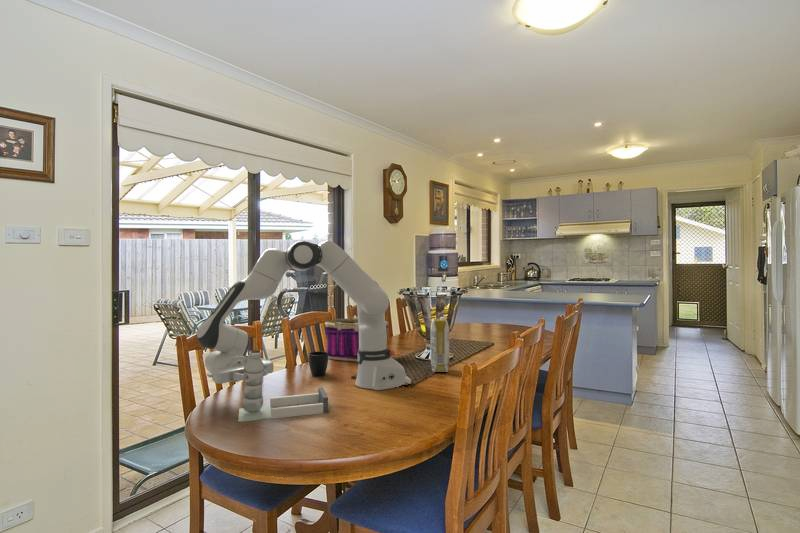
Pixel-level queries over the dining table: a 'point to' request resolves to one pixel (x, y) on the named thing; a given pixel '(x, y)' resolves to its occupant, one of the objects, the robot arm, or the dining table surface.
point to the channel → (299, 410)
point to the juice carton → (440, 345)
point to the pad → (254, 414)
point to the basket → (343, 336)
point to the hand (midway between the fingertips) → (255, 375)
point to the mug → (318, 363)
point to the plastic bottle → (253, 382)
